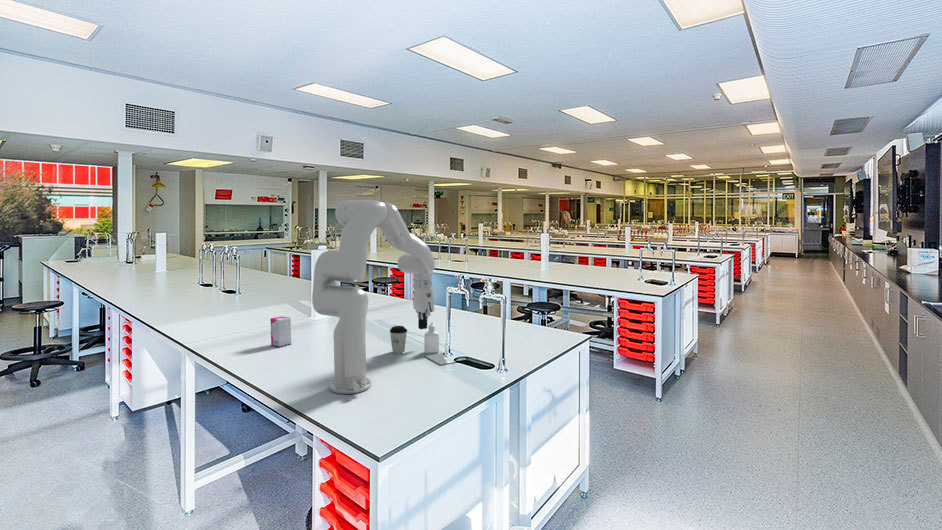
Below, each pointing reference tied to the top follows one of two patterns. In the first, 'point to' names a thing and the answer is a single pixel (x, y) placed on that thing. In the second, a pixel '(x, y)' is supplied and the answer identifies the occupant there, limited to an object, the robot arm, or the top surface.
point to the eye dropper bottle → (431, 340)
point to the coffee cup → (398, 338)
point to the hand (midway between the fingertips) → (422, 328)
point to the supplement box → (280, 331)
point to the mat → (437, 358)
